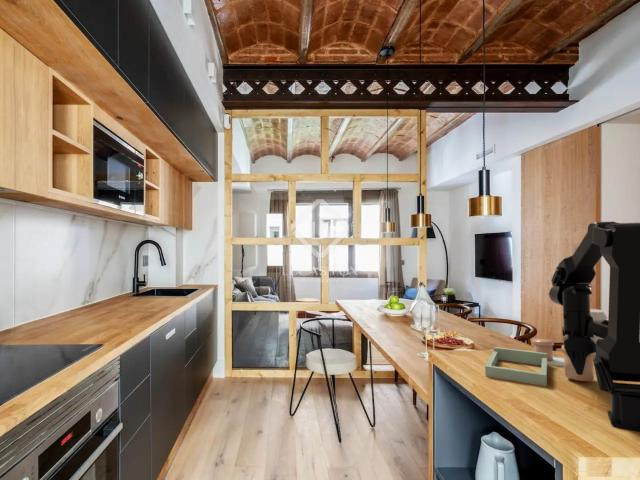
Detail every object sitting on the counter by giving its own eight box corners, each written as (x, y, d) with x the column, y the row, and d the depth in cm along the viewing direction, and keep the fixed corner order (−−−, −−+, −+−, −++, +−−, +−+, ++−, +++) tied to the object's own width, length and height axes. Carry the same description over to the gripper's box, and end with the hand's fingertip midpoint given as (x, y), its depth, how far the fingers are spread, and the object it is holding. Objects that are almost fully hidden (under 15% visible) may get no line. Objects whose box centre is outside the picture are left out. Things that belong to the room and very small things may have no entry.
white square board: (572, 370, 100) (572, 367, 100) (523, 363, 106) (523, 361, 106) (570, 360, 109) (570, 358, 109) (525, 354, 115) (525, 352, 115)
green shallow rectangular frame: (546, 387, 88) (546, 371, 88) (485, 377, 96) (485, 362, 96) (547, 367, 103) (546, 353, 103) (494, 359, 111) (494, 346, 111)
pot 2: (597, 383, 86) (596, 353, 86) (563, 378, 90) (561, 349, 90) (594, 375, 92) (593, 346, 92) (562, 370, 96) (561, 342, 96)
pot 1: (554, 362, 105) (553, 343, 105) (532, 359, 108) (531, 341, 108) (554, 357, 109) (553, 339, 109) (533, 355, 112) (532, 337, 113)
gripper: (623, 319, 79) (626, 389, 79) (611, 307, 95) (613, 365, 94) (562, 314, 85) (565, 380, 85) (561, 304, 101) (563, 359, 100)
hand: (578, 370), depth 91 cm, fingers closed on pot 2, 6 cm apart
